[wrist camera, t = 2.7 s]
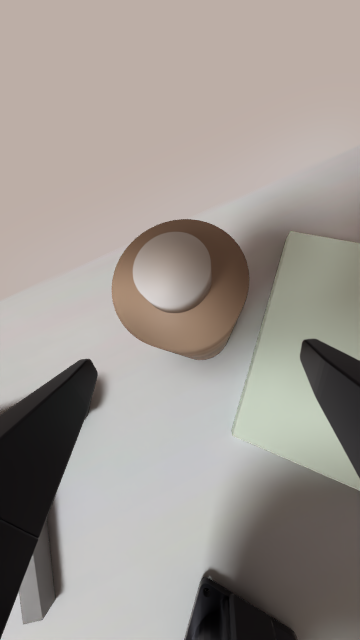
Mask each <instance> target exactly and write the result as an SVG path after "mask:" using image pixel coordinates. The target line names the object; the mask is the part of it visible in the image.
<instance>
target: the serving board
mask: <svg viewBox="0 0 360 640" xmlns="http://www.w3.org/2000/svg"><path fill="white" fill-rule="evenodd" d="M305 339H318V340H320V341H322V342H324V343H326V344H328V345H330V346H332V347H334V348H336V349H338V350H340V351H342V352H344V353H346V354H348V355H350V356H352V357H354V358H356V359H358V360H359V361H360V243H356V242H351V241H345V240H339V239H333V238H328V237H322V236H316V235H310V234H305V233H299V232H293V231H290V233H289V235H288V237H287V239H286V241H285V245H284V248H283V252H282V255H281V259H280V262H279V266H278V269H277V273H276V276H275V280H274V283H273V287H272V290H271V294H270V297H269V301H268V304H267V308H266V311H265V315H264V318H263V322H262V325H261V329H260V332H259V336H258V339H257V343H256V346H255V350H254V353H253V357H252V360H251V364H250V367H249V371H248V374H247V378H246V381H245V385H244V388H243V392H242V395H241V399H240V402H239V406H238V409H237V413H236V416H235V420H234V423H233V427H232V430H231V432H232V436H234V437H236V438H239V439H241V440H243V441H246V442H248V443H250V444H253V445H255V446H257V447H259V448H262V449H264V450H266V451H269V452H271V453H273V454H276V455H278V456H280V457H283V458H285V459H287V460H289V461H292V462H294V463H296V464H299V465H301V466H303V467H306V468H308V469H310V470H313V471H315V472H317V473H320V474H322V475H324V476H326V477H329V478H331V479H333V480H336V481H338V482H340V483H343V484H345V485H347V486H350V487H352V488H354V489H356V490H359V491H360V478H359V476H358V475H357V473H356V471H355V469H354V467H353V465H352V464H351V462H350V460H349V458H348V456H347V454H346V453H345V451H344V449H343V447H342V445H341V443H340V442H339V440H338V438H337V436H336V434H335V432H334V431H333V429H332V427H331V425H330V423H329V421H328V420H327V418H326V416H325V414H324V412H323V410H322V409H321V407H320V405H319V403H318V401H317V399H316V397H315V395H314V393H313V390H312V388H311V386H310V383H309V381H308V378H307V376H306V373H305V371H304V368H303V366H302V363H301V361H300V351H301V346H302V342H303V340H305Z"/></svg>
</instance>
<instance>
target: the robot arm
mask: <svg viewBox="0 0 360 640" xmlns="http://www.w3.org/2000/svg"><path fill="white" fill-rule="evenodd" d="M300 361H301V363H302V366H303V368H304V371H305V373H306V376H307V378H308V381H309V383H310V386H311V388H312V390H313V393H314V395H315V397H316V399H317V401H318V403H319V405H320V407H321V409H322V410H323V412H324V414H325V416H326V418H327V420H328V421H329V423H330V425H331V427H332V429H333V431H334V432H335V434H336V436H337V438H338V440H339V442H340V443H341V445H342V447H343V449H344V451H345V453H346V454H347V456H348V458H349V460H350V462H351V464H352V465H353V467H354V469H355V471H356V473H357V475H358V476H359V478H360V361H359V360H358V359H356V358H354V357H352V356H350V355H348V354H346V353H344V352H342V351H340V350H338V349H336V348H334V347H332V346H330V345H328V344H326V343H324V342H322V341H320V340H318V339H305V340H303V342H302V346H301V351H300ZM97 375H98V374H97V370H96V368H95V367H94V365H93V363H92V361H91V360H90V359H81V360H79V361H77V362H76V363H75V364H73V365H72V366H70V367H69V368H67V369H66V370H65V371H63V372H62V373H60V374H59V375H57V376H56V377H54V378H53V379H52V380H50V381H49V382H47V383H46V384H44V385H43V386H42V387H40V388H39V389H37V390H36V391H34V392H33V393H31V394H30V395H29V396H27V397H26V398H24V399H23V400H21V401H20V402H18V403H17V404H16V405H14V406H13V407H11V408H10V409H8V410H7V411H6V412H4V413H3V414H1V415H0V639H1V636H2V634H3V631H4V628H5V626H6V623H7V621H8V618H9V615H10V613H11V610H12V608H13V605H14V602H15V600H16V597H17V594H18V592H19V589H20V587H21V584H22V581H23V579H24V576H25V574H26V571H27V568H28V566H29V563H30V561H31V558H32V555H33V553H34V550H35V547H36V545H37V542H38V538H39V537H40V534H41V531H42V529H43V526H44V524H45V521H46V518H47V516H48V513H49V511H50V508H51V505H52V503H53V500H54V497H55V495H56V492H57V490H58V487H59V484H60V482H61V479H62V477H63V474H64V471H65V469H66V466H67V464H68V461H69V458H70V456H71V453H72V451H73V448H74V445H75V443H76V440H77V437H78V435H79V432H80V430H81V427H82V424H83V422H84V419H85V417H86V414H87V411H88V408H89V405H90V402H91V398H92V395H93V391H94V387H95V384H96V380H97ZM204 588H208V589H209V591H206V590H205V589H204ZM184 640H297V637H296V635H295V633H294V632H293V631H292V630H291V629H289V628H288V627H286V626H285V625H283V624H281V623H280V622H278V621H277V620H275V619H273V618H272V617H270V616H269V615H267V614H265V613H264V612H262V611H261V610H259V609H257V608H256V607H254V606H253V605H251V604H249V603H248V602H246V601H244V600H243V599H241V598H240V597H238V596H236V595H235V594H233V593H232V592H230V591H228V590H227V589H225V588H224V587H222V586H220V585H219V584H217V583H216V582H214V581H212V580H211V579H209V578H203V579H201V581H200V584H199V588H198V592H197V595H196V599H195V602H194V606H193V610H192V613H191V617H190V620H189V624H188V628H187V631H186V635H185V638H184Z"/></svg>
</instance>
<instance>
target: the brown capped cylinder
mask: <svg viewBox="0 0 360 640" xmlns="http://www.w3.org/2000/svg"><path fill="white" fill-rule="evenodd" d="M248 289H249V270H248V266H247V262H246V259H245V256H244V254H243V252H242V250H241V249H240V247H239V246H238V244H237V243H236V242H235V240H234V239H233V238H232V237H231V236H230V235H229V234H227V233H226V232H225V231H223V230H222V229H220V228H218V227H216V226H214V225H212V224H209V223H207V222H203V221H199V220H191V219H183V220H182V219H181V220H173V221H169V222H165V223H162V224H159V225H156V226H154V227H152V228H150V229H148V230H147V231H145V232H144V233H142V234H141V235H140V236H139V237H137V238H136V239H135V240H134V241H133V242H132V243H131V244H130V245H129V246H128V247H127V248H126V250H125V251H124V253H123V254H122V256H121V257H120V259H119V261H118V263H117V266H116V269H115V271H114V275H113V280H112V299H113V304H114V307H115V311H116V313H117V315H118V317H119V319H120V321H121V322H122V324H123V325H124V326H125V328H126V329H127V330H128V331H129V332H130V333H131V334H132V335H134V336H135V337H136V338H138V339H139V340H141V341H142V342H144V343H146V344H149V345H151V346H154V347H157V348H160V349H163V350H166V351H170V352H173V353H176V354H179V355H182V356H185V357H189V358H192V359H196V360H205V359H209V358H212V357H214V356H216V355H217V354H219V353H220V352H221V351H222V350H223V348H224V347H225V345H226V343H227V341H228V339H229V337H230V334H231V332H232V330H233V328H234V326H235V323H236V321H237V319H238V317H239V315H240V312H241V310H242V308H243V306H244V303H245V300H246V298H247V293H248Z"/></svg>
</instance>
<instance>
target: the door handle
mask: <svg viewBox="0 0 360 640" xmlns="http://www.w3.org/2000/svg"><path fill="white" fill-rule="evenodd" d="M88 412H89V408H88V411H87V414H86V417H87V416H88ZM86 417H85V419H86ZM85 419H84V420H85ZM19 595H20V604H21V612H22V620H23V624H27V623H32V622H36V621H40V620H43V618H44V617H45V615H46V614H47V612H48V610H49V609H50V607H51V606H52V604H53V603H54V601H55V591H54V582H53V572H52V563H51V554H50V544H49V535H48V525H47V518H46V521H45V524H44V526H43V529H42V531H41V534H40V537H39V538H38V542H37V545H36V547H35V550H34V553H33V555H32V558H31V561H30V563H29V566H28V568H27V571H26V574H25V576H24V579H23V581H22V584H21V587H20V589H19Z"/></svg>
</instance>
